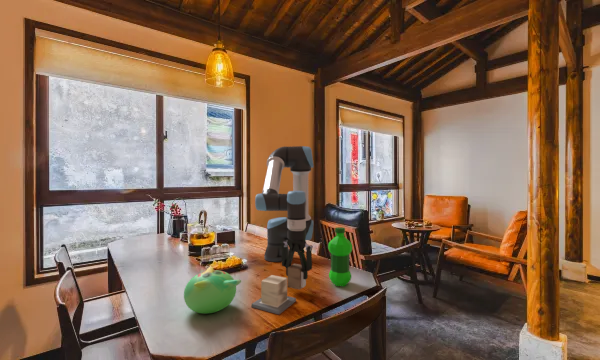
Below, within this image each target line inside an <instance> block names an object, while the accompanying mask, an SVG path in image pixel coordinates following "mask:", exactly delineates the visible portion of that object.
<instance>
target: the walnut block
mask: <svg viewBox="0 0 600 360" xmlns="http://www.w3.org/2000/svg"><path fill="white" fill-rule="evenodd" d="M301 271H303V269H302V265H301V263H293V264H291V266H289V267H288V276H287V288H291V289H295V290H301V289H302V288H301Z"/></svg>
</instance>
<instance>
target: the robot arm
mask: <svg viewBox="0 0 600 360" xmlns="http://www.w3.org/2000/svg"><path fill="white" fill-rule="evenodd" d="M266 167H267V170H266V173H265V177H264V178H265V179H264V183H263V187H262V191H261V192H260V193H257V194H256V195H255V197H254V198H255V200H254V205H255V209H256V210H257V211H262V212H263V211H264V212H283V211H284V212H287V217H286V216H285V217H284V216H283V217H274V218H271V219H268V221H267V227H266V230H267V231H266V234H267V239H266V240H267V244H266V248H265V252H264V256H263V257H264V260H265V261H268V262H271V263H272V262H273V263H280V262H281V267H285V272H286V273H285V274H286V277H288V267H289V266H291V265H293V264H292V263H293V259H294V256H295V253H297V255H298V257H299V261H300V265H302V269H303V271H301V289H303V288H305V287H306V285H307V279H308V275H309V273H308V272H309V271H311V270H313V256H312V255H313V254H312V251H313V245H312V244H310V245H309V244H308V243H307V241H310V240H312V238H313V232H314V220H313V219H312V217H311V216H310V214H309V174H310V173H311V172H312V169H314V160H313V151H312V148H311V147H310V146H304V145H299V146H295V145H293V146H281V147H277V148H276V149H274V150H273V151H272V152H271V153H270V155H269V156H268V158H267V160H266ZM284 168H289V170H290V172H291V173H292V178H293V179H292V187H293V188H292V189H293V190H289V191H287V193H280V186H281V180H282V172H283V170H284Z"/></svg>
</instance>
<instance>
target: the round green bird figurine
mask: <svg viewBox="0 0 600 360" xmlns="http://www.w3.org/2000/svg"><path fill="white" fill-rule="evenodd" d="M241 283H242V280H241V279H234V277H233V276H232V275H231V274H230V273H228V272H226V271H223V270H217V269H216V270H215V269H214V267H213V266H210V267H208V268H207V269H206V270H205V271H202V272H200V273H197V274H196V275H195V276H194V275H193V276H192V278H190V279H189V281H187V283H186V285H185V288H184V291H183V300H184V304H186V306H187V307H188V309H190V310H191V311H192V312H195V313H197V314H204V315H205V314H206V315H207V314H213V313H217V312H219V311H222V310H224V309H225V308H227V307H228V306H229V305H230V304H231V303H232V302H233V300H234V298H235V297H236V294H237V286H238V285H240V284H241Z"/></svg>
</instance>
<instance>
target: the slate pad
mask: <svg viewBox="0 0 600 360" xmlns="http://www.w3.org/2000/svg"><path fill="white" fill-rule="evenodd" d="M295 302H297V298H296V297H293V296H288V295H287V299H286V300H285V301H284V302H282V303H281V304H280V305H278V306H274V305H270V304H266V303H263V302H261V297H259V299H257V300H255V301H253V302H252V303H251V308H254V309H257V310H260V311H263V312H268V313H270V314H271V313H272V314H276V315H281V314H282V313H283V312H284V311H285V310H286V311H287V309H289V307H290V306H292V305H293V304H295Z"/></svg>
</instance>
